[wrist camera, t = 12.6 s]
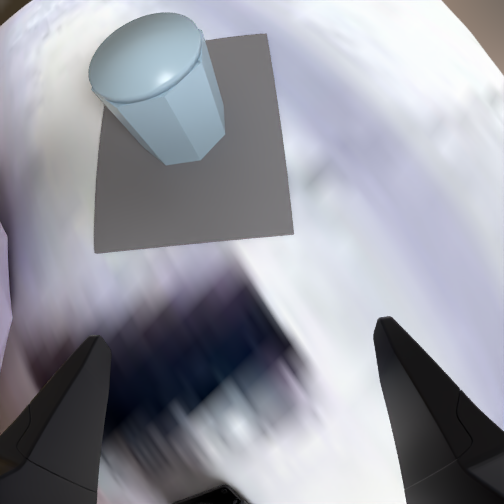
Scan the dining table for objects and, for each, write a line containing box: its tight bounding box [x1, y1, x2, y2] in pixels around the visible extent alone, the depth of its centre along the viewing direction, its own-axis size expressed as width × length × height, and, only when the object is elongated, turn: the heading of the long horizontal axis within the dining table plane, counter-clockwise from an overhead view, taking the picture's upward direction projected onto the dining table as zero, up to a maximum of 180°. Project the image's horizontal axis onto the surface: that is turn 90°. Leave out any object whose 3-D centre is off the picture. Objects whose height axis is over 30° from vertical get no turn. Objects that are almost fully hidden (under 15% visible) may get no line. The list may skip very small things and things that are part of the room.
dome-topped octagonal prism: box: [89, 13, 225, 165], centre depth 20 cm, size 7×7×10 cm
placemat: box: [94, 34, 294, 254], centre depth 25 cm, size 20×16×1 cm
